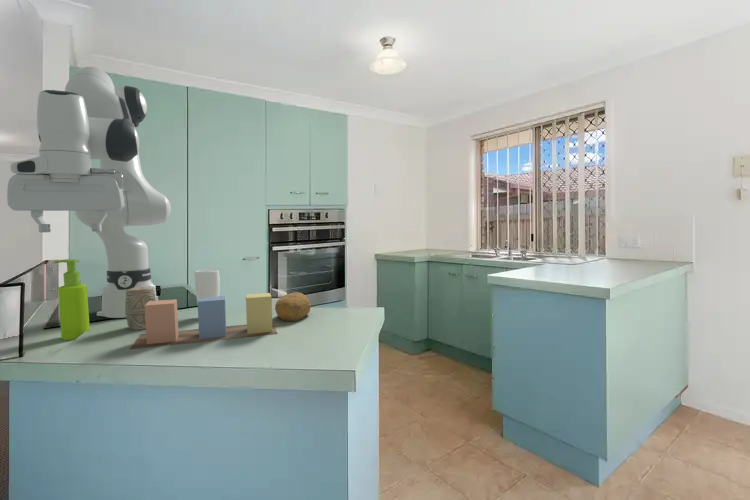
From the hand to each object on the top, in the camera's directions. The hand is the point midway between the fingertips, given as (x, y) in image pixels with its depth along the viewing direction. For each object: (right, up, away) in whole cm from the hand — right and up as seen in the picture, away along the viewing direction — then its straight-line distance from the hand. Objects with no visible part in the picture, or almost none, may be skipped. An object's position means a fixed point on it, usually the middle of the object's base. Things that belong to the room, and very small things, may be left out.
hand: (71, 231), depth 87 cm
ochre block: (+37, -24, +15) cm, 47 cm away
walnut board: (+25, -26, +12) cm, 38 cm away
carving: (+4, -26, +20) cm, 33 cm away
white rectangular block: (+17, -25, +31) cm, 43 cm away
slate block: (+26, -25, +11) cm, 38 cm away
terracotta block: (+16, -25, +8) cm, 31 cm away
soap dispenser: (-12, -27, +16) cm, 33 cm away
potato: (+42, -25, +29) cm, 57 cm away
